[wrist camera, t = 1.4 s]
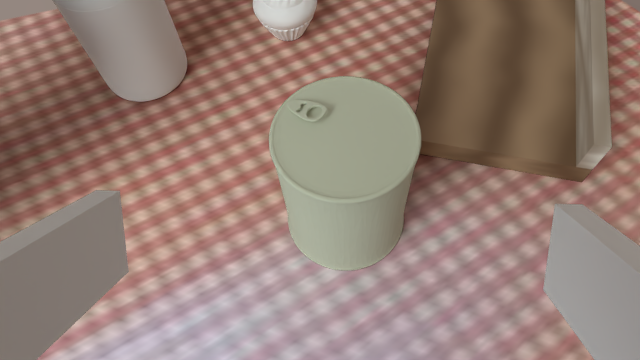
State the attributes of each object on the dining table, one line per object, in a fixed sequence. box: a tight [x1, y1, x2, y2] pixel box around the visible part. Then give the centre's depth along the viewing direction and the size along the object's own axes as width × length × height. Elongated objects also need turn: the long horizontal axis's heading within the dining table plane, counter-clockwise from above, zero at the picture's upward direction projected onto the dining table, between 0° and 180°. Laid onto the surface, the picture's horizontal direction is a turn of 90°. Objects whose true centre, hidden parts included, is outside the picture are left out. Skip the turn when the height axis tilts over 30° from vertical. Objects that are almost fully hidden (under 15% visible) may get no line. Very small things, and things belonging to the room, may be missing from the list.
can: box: [269, 76, 421, 271], centre depth 34 cm, size 9×9×12 cm
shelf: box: [416, 0, 612, 182], centre depth 43 cm, size 14×20×5 cm
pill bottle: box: [53, 0, 187, 102], centre depth 41 cm, size 8×8×15 cm
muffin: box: [253, 0, 317, 41], centre depth 47 cm, size 6×6×7 cm
